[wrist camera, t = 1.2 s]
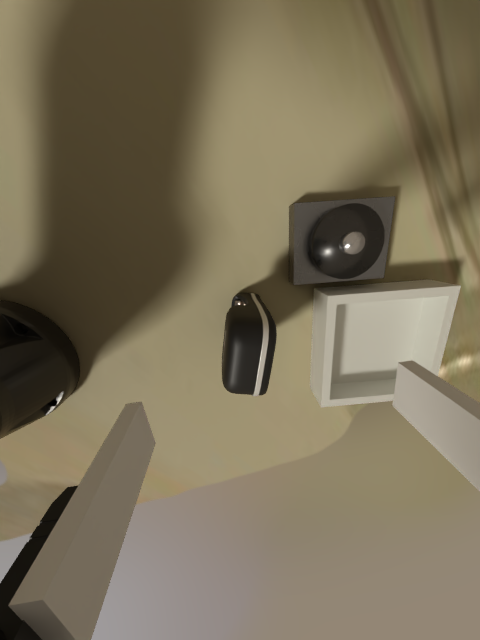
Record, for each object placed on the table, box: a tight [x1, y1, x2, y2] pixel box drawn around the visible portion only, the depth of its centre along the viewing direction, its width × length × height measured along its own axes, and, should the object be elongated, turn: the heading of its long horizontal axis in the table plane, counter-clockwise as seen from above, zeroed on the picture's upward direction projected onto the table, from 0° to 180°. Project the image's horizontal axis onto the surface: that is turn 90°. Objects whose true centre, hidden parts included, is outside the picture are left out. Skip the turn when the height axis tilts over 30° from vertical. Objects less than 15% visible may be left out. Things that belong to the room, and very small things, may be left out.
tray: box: [310, 279, 461, 407], centre depth 28 cm, size 14×14×4 cm
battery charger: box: [222, 293, 276, 396], centre depth 23 cm, size 7×4×11 cm, turn 173°
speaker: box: [289, 196, 395, 285], centre depth 23 cm, size 10×8×4 cm
